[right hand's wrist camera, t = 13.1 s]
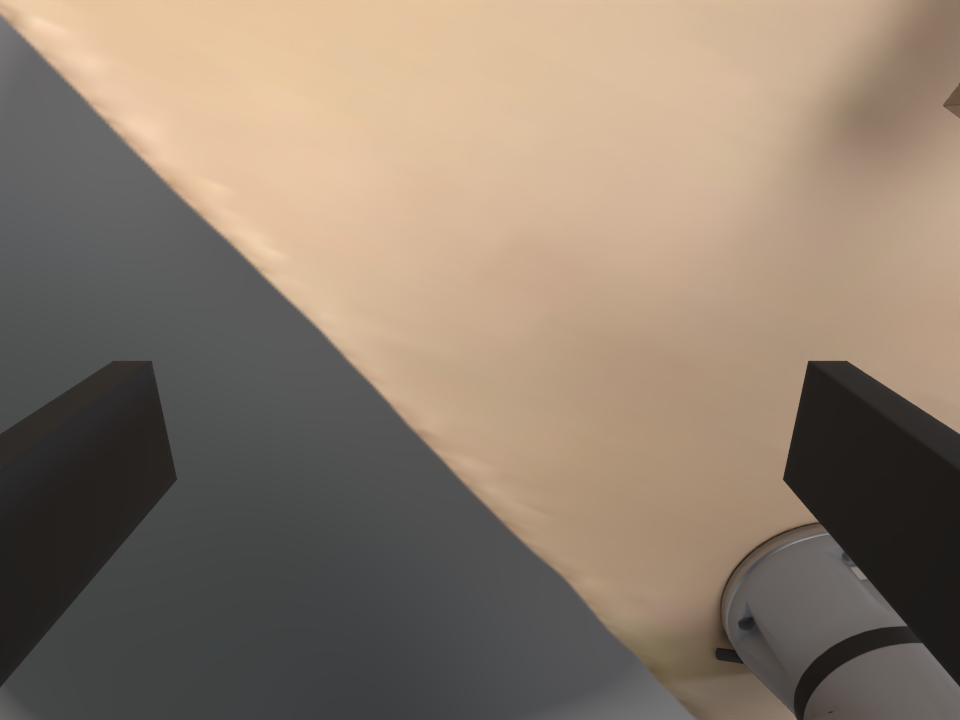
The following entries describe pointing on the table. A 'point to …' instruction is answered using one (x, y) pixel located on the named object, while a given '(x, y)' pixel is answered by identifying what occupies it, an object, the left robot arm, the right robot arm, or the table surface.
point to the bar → (954, 102)
